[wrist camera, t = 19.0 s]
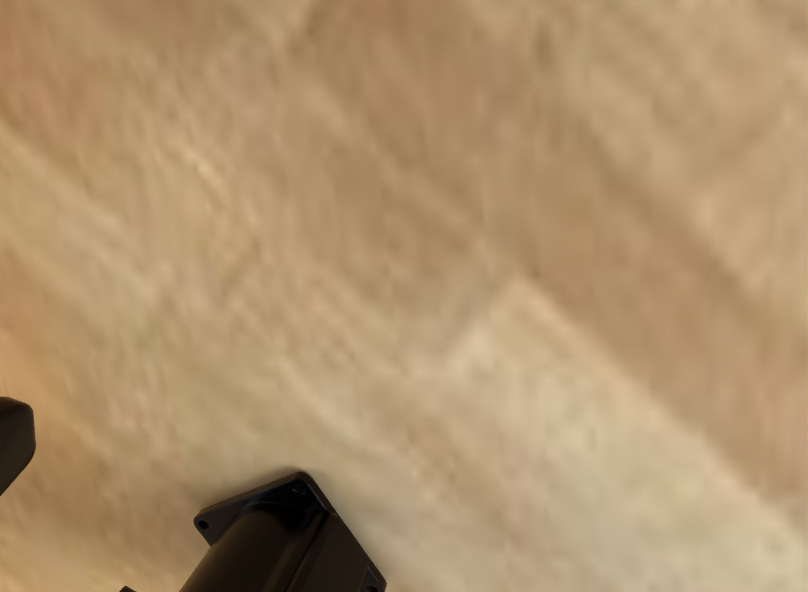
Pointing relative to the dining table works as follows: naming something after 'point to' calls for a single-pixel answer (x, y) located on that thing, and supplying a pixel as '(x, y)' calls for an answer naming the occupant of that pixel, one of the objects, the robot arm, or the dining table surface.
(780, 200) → the dining table surface
